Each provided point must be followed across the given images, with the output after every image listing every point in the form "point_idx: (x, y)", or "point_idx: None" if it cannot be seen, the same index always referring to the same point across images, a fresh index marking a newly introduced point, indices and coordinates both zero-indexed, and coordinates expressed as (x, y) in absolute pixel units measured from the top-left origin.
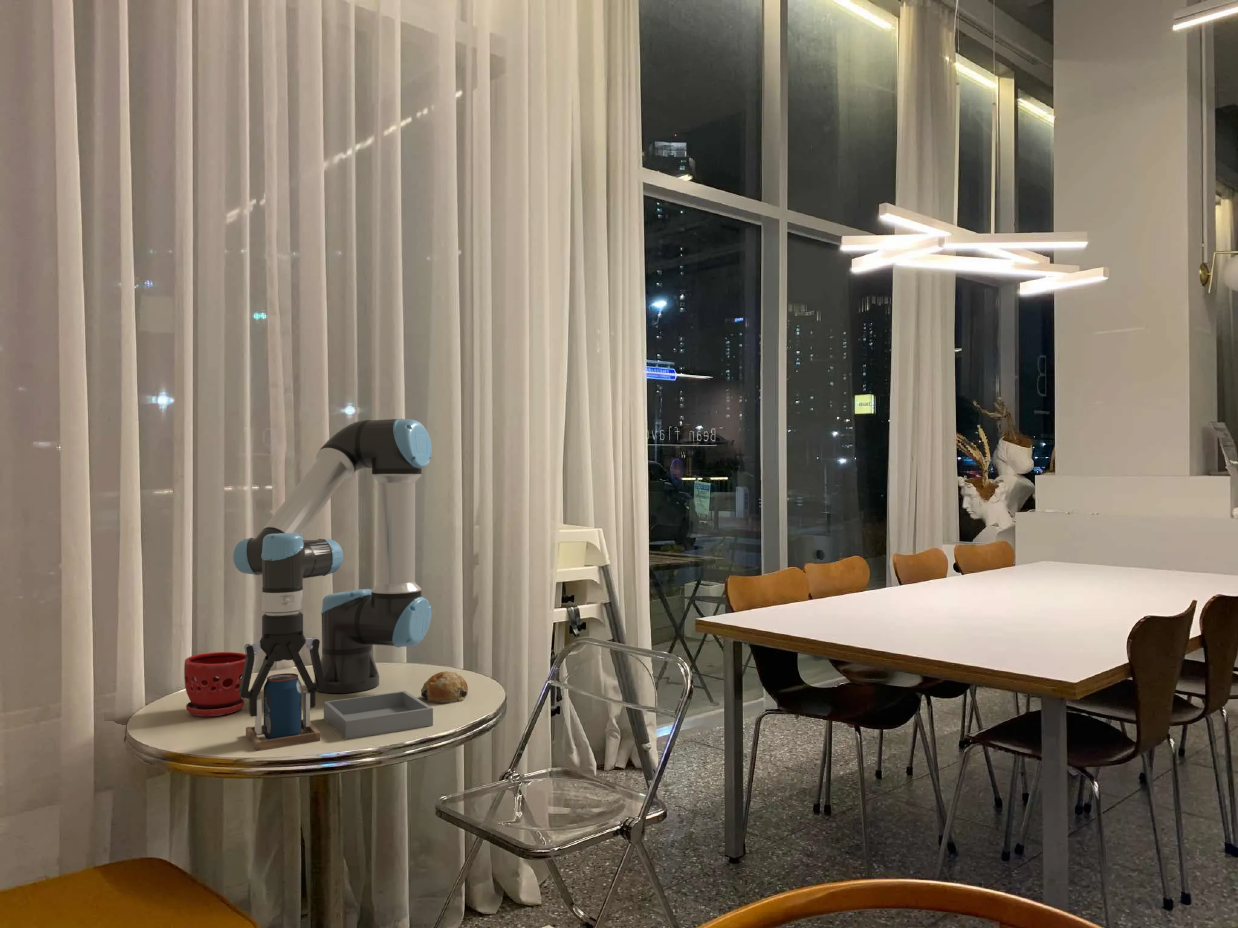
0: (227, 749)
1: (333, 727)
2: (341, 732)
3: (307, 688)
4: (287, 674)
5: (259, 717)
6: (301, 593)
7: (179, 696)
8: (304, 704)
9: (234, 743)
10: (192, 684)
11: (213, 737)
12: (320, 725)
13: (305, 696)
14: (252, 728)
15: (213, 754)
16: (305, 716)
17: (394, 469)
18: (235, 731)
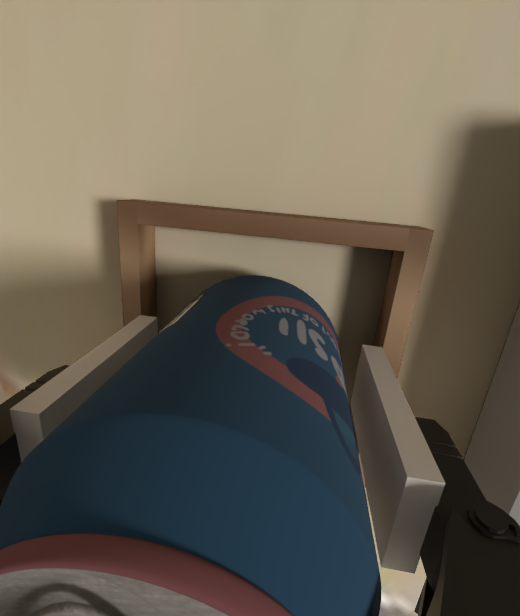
0: (60, 351)
1: (507, 337)
2: (469, 463)
3: (442, 534)
4: (253, 605)
5: None
6: None
7: None
8: (374, 446)
9: (85, 293)
10: None
11: (8, 139)
12: (481, 258)
13: (380, 525)
14: (147, 224)
15: (18, 374)
16: (359, 421)
17: None
18: (100, 89)
